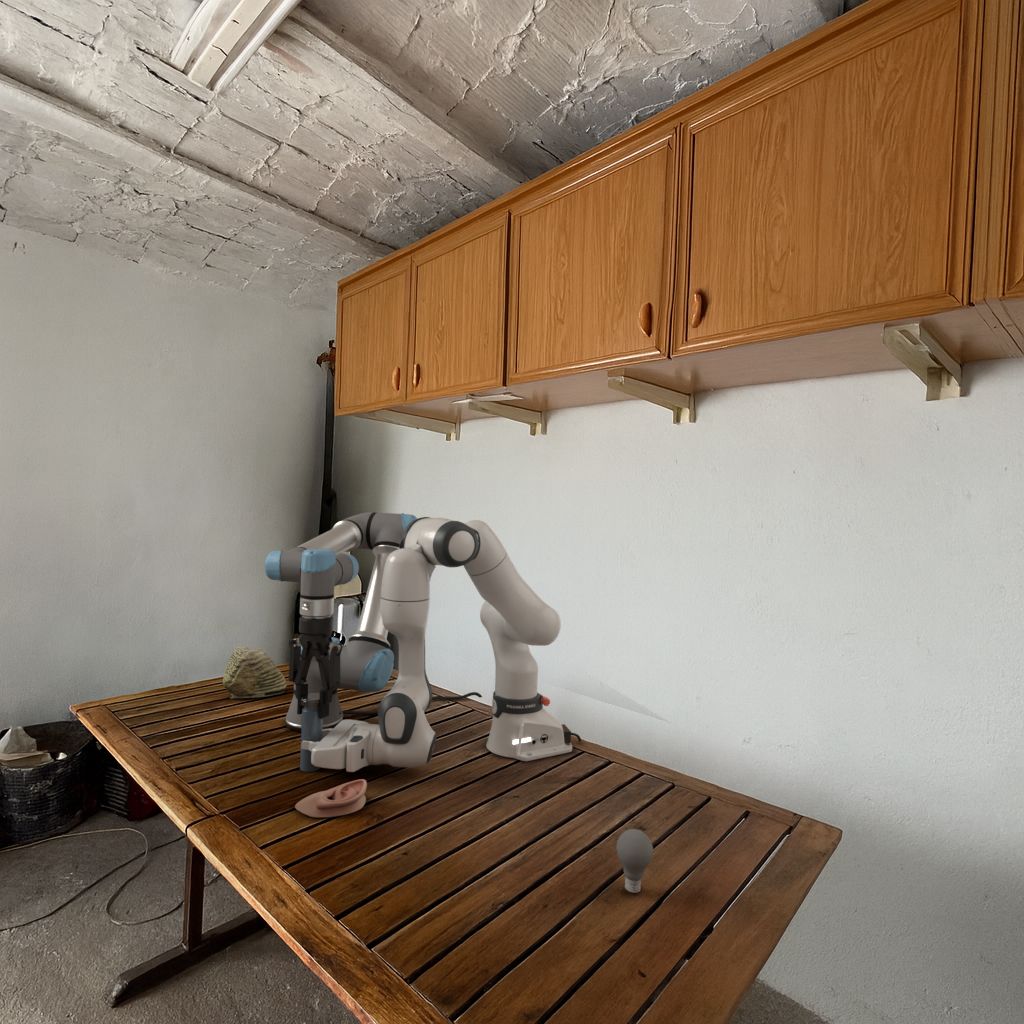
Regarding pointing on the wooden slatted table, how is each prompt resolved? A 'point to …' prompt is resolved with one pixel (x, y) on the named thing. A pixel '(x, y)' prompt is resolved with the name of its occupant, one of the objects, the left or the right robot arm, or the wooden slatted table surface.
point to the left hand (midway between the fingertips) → (313, 714)
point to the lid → (310, 700)
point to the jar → (310, 735)
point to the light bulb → (634, 857)
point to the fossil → (252, 674)
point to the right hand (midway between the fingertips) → (307, 739)
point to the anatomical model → (335, 800)
